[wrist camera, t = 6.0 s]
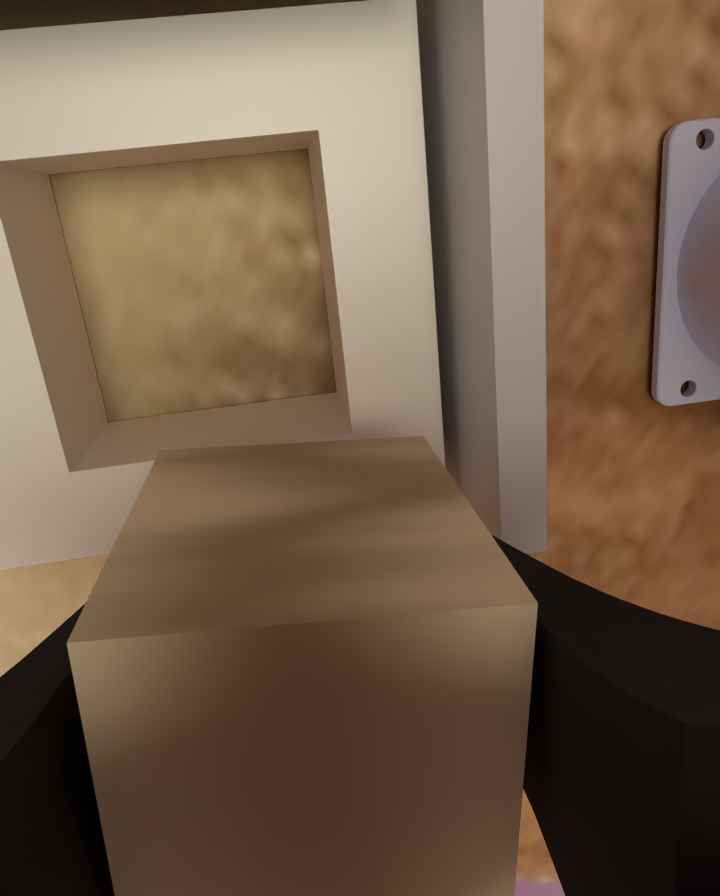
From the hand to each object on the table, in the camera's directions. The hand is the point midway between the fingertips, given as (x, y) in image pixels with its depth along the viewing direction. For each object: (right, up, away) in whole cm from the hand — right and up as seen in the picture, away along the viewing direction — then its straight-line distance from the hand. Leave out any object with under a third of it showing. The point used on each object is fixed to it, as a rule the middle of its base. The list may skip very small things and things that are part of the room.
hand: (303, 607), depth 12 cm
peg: (0, +1, +2) cm, 2 cm away
